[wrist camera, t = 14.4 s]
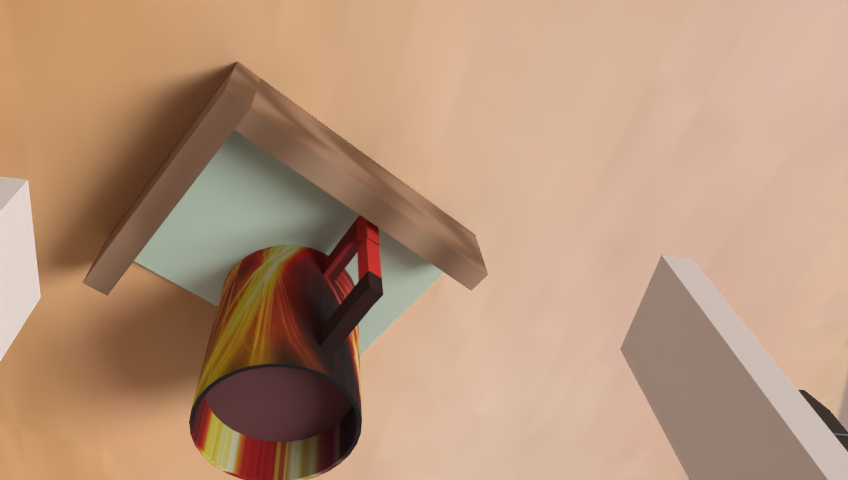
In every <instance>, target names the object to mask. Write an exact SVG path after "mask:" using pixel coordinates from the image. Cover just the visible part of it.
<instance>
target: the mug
mask: <svg viewBox="0 0 848 480" xmlns="http://www.w3.org/2000/svg"><path fill="white" fill-rule="evenodd" d="M379 246H380V239H379V228H378V227H377V226H375V225H374V224H373V223H371V222H370V221H368V220H367V219H365V218H364V217H362V216H361V215H359V216H358V217H357V219H356V220H355V221H354V223H353V224H352V225H351V227H350V228H349V229H348V231H347V232H346V233H345V235H344V236H343V237H342V239H341V240H340V241H339V243H338V244H337V245H336V247H335V248H334V249H333V251H332V252H331V253H330V255H329V256H328V255H326V254H325V253H323V252H320V251H317V250H315V249H312V248H308V247H303V246H298V245H280V246H272V247H268V248H264V249H261V250H258V251H256V252H254V253H252V254H250V255H248V256H246V257H245V258H243V259H242V260H241V261H240V262H239V263H237V264H236V265H235V266H234V268H233V269H232V270H231V271H230V273H229V274H228V276H227V278H226V280H225V282H224V285H223V289H222V292H221V296H220V300H219V304H218V308H217V312H216V316H215V320H214V324H213V328H212V332H211V335H210V339H209V343H208V347H207V351H206V355H205V359H204V363H203V367H202V371H201V375H200V378H199V382H198V386H197V390H196V394H195V398H194V402H193V406H192V410H191V415H190V421H189V424H190V433H191V436H192V439H193V441H194V444H195V446H196V447H197V449H198V450H199V451H200V453H201V454H202V456H204V457H205V458H206V459H207V460H208V461H209V462H210V463H211V464H212V465H214V466H215V467H217V468H219V469H220V470H222V471H224V472H225V473H228V474H230V475H233V476H235V477H237V478H241V479H244V480H307V479H310V478H314V477H317V476H319V475H321V474H323V473H326V472H328V471H330V470H331V469H333V468H334V467H336V466H337V465H339V464H340V463H341V462H342V461H343V460H344V459H345V458H347V457H348V456H349V455H350V453H351V452H352V450H353V449H354V447H355V446H356V444H357V442H358V439H359V436H360V434H361V423H362V416H361V386H360V356H359V326H358V323H359V322H360V321H361V320H362V319H363V317H364V316H365V315H366V314H367V313H368V311H369V310H370V309H371V308H372V306H373V305H374V304H375V303H376V302H377V301H378V300H379V299H380V298H381V297H382V296H383V286H382V275H381V263H380V252H379ZM357 252H358V279H359V282H358V283H357V284H356V285H354V282H353V280H352V278H351V276H350V275H349V274H348V272H347V271H346V270H345V268H346V266H347V265H348V264H349V263H350V261H351V260H352V259H353V257H354V256H355V255H356V253H357Z"/></svg>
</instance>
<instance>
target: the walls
mask: <svg viewBox="0 0 848 480" xmlns="http://www.w3.org/2000/svg"><path fill="white" fill-rule="evenodd" d="M234 130H236V131H237V132H239V133H240V134H242V135H243V136H245V137H246V138H248V139H249V140H251V141H252V142H253V143H255V144H256V145H258V146H259V147H261V148H262V149H264V150H265V151H267V152H268V153H270V154H271V155H273V156H274V157H276V158H277V159H278V160H280V161H281V162H283V163H284V164H286V165H287V166H289V167H290V168H292V169H293V170H295V171H296V172H298V173H299V174H301V175H302V176H303V177H305V178H306V179H308V180H309V181H311V182H312V183H314V184H315V185H317V186H318V187H320V188H321V189H323V190H324V191H325V192H327V193H328V194H330V195H331V196H333V197H334V198H336V199H337V200H339V201H340V202H342V203H343V204H345V205H346V206H348V207H349V208H350V209H352V210H353V211H355V212H356V213H358V214H359V215H361V216H362V217H364V218H365V219H367V220H368V221H370V222H371V223H373V224H374V225H375V226H377V227H378V228H380V229H381V230H383V231H384V232H386V233H387V234H389V235H390V236H392V237H393V238H395V239H396V240H398V241H399V242H400V243H402V244H403V245H405V246H406V247H408V248H409V249H411V250H412V251H414V252H415V253H417V254H418V255H420V256H421V257H423V258H424V259H425V260H427V261H428V262H430V263H431V264H433V265H434V266H436V267H437V268H439V269H440V270H442V271H443V272H445V273H446V274H448V275H449V276H450V277H452V278H453V279H455V280H456V281H458V282H459V283H461V284H462V285H464V286H465V287H467V288H468V289H470V290H472V289H473V288H474V287H475V286H477V285H478V284H479V283H480V282H481V281H482V280H483V279H484V278H485V277H486V276H487V275H488V273H487V270H486V267H485V264H484V261H483V258H482V255H481V252H480V248H479V245H478V242H477V239H476V236H475V234H473V233H472V232H470V231H469V230H468V229H466V228H465V227H464V226H462V225H461V224H460V223H458V222H457V221H455V220H454V219H453V218H451V217H450V216H449V215H447V214H446V213H444V212H443V211H442V210H440V209H439V208H438V207H436V206H435V205H433V204H432V203H431V202H429V201H428V200H427V199H425V198H424V197H423V196H421V195H420V194H418V193H417V192H416V191H414V190H413V189H412V188H410V187H409V186H407V185H406V184H405V183H403V182H402V181H401V180H399V179H398V178H396V177H395V176H394V175H392V174H391V173H390V172H388V171H387V170H385V169H384V168H383V167H381V166H380V165H379V164H377V163H376V162H375V161H373V160H372V159H370V158H369V157H368V156H366V155H365V154H364V153H362V152H361V151H359V150H358V149H357V148H355V147H354V146H353V145H351V144H350V143H348V142H347V141H346V140H344V139H343V138H342V137H340V136H339V135H337V134H336V133H335V132H333V131H332V130H331V129H329V128H328V127H327V126H325V125H324V124H322V123H321V122H320V121H318V120H317V119H316V118H314V117H313V116H311V115H310V114H309V113H307V112H306V111H305V110H303V109H302V108H300V107H299V106H298V105H296V104H295V103H294V102H292V101H291V100H290V99H288V98H287V97H285V96H284V95H283V94H281V93H280V92H279V91H277V90H276V89H274V88H273V87H272V86H270V85H269V84H268V83H266V82H265V81H263V80H262V79H261V78H259V77H258V76H257V75H255V74H254V73H252V72H251V71H250V70H248V69H247V68H246V67H244V66H243V65H242V64H240V63H239V62H237V63H236V64H235V66H234V67H233V69H232V70H231V71H230V73H229V74H228V75H227V77H226V78H225V79H224V81H223V82H222V83H221V85H220V86H219V88H218V89H217V90H216V92H215V93H214V94H213V96H212V97H211V98H210V100H209V101H208V103H207V104H206V105H205V107H204V108H203V109H202V111H201V112H200V113H199V115H198V116H197V117H196V119H195V120H194V122H193V123H192V124H191V126H190V127H189V128H188V130H187V131H186V132H185V134H184V135H183V137H182V138H181V139H180V141H179V142H178V143H177V145H176V146H175V147H174V149H173V150H172V152H171V153H170V154H169V156H168V157H167V158H166V160H165V161H164V162H163V164H162V165H161V166H160V168H159V169H158V171H157V172H156V173H155V175H154V176H153V177H152V179H151V180H150V181H149V183H148V184H147V186H146V187H145V188H144V190H143V191H142V192H141V194H140V195H139V196H138V198H137V199H136V200H135V202H134V203H133V205H132V206H131V207H130V209H129V210H128V211H127V213H126V214H125V215H124V217H123V218H122V220H121V221H120V222H119V224H118V225H117V226H116V228H115V229H114V230H113V232H112V233H111V234H110V236H109V237H108V239H107V240H106V242H105V244H104V245H103V247H102V249H101V251H100V252H99V254H98V256H97V258H96V259H95V261H94V263H93V265H92V267H91V268H90V270H89V272H88V274H87V275H86V277H85V279H84V281H83V282H82V283H84V284H86V285H88V286H90V287H92V288H94V289H95V290H97V291H99V292H101V293H103V294H105V295H108V294H109V292H110V291H111V290H112V289H113V287H114V286H115V285H116V283H117V282H118V281H119V279H120V278H121V277H122V276H123V274H124V273H125V272H126V270H127V269H128V268H129V266H130V265H131V264H132V262H133V261H134V260H135V259H136V257H137V256H138V255H139V253H140V252H141V251H142V249H143V248H144V247H145V246H146V244H147V243H148V242H149V240H150V239H151V238H152V236H153V235H154V234H155V232H156V231H157V230H158V229H159V227H160V226H161V225H162V223H163V222H164V221H165V219H166V218H167V217H168V216H169V214H170V213H171V212H172V210H173V209H174V208H175V206H176V205H177V204H178V202H179V201H180V200H181V199H182V197H183V196H184V195H185V193H186V192H187V191H188V189H189V188H190V187H191V186H192V184H193V183H194V182H195V180H196V179H197V178H198V176H199V175H200V174H201V172H202V171H203V170H204V169H205V167H206V166H207V165H208V163H209V162H210V161H211V159H212V158H213V157H214V156H215V154H216V153H217V152H218V150H219V149H220V148H221V146H222V145H223V144H224V142H225V141H226V140H227V139H228V137H229V136H230V135H231V133H232V132H233V131H234Z"/></svg>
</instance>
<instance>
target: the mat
mask: <svg viewBox="0 0 848 480" xmlns="http://www.w3.org/2000/svg"><path fill="white" fill-rule="evenodd" d="M358 216H359V214H358V213H356V212H355V211H353V210H352V209H350V208H349V207H348V206H346V205H345V204H343V203H342V202H340V201H339V200H337V199H336V198H334V197H333V196H331V195H330V194H328V193H327V192H325V191H324V190H323V189H321V188H320V187H318V186H317V185H315V184H314V183H312V182H311V181H309V180H308V179H306V178H305V177H303V176H302V175H301V174H299V173H298V172H296V171H295V170H293V169H292V168H290V167H289V166H287V165H286V164H284V163H283V162H281V161H280V160H278V159H277V158H276V157H274V156H273V155H271V154H270V153H268V152H267V151H265V150H264V149H262V148H261V147H259V146H258V145H256V144H255V143H253V142H252V141H251V140H249V139H248V138H246V137H245V136H243V135H242V134H240V133H239V132H237V131H236V130H234V131H233V132H232V133H231V135H230V136H229V137H228V139H227V140H226V141H225V142H224V144H223V145H222V146H221V148H220V149H219V150H218V152H217V153H216V154H215V156H214V157H213V158H212V159H211V161H210V162H209V163H208V165H207V166H206V167H205V169H204V170H203V171H202V172H201V174H200V175H199V176H198V178H197V179H196V180H195V182H194V183H193V184H192V186H191V187H190V188H189V189H188V191H187V192H186V193H185V195H184V196H183V197H182V199H181V200H180V201H179V202H178V204H177V205H176V206H175V208H174V209H173V210H172V212H171V213H170V214H169V216H168V217H167V218H166V219H165V221H164V222H163V223H162V225H161V226H160V227H159V229H158V230H157V231H156V232H155V234H154V235H153V236H152V238H151V239H150V240H149V242H148V243H147V244H146V246H145V247H144V248H143V249H142V251H141V252H140V253H139V255H138V256H137V257H136V259H135V260H134V261H135V262H137V263H138V264H140V265H142V266H144V267H146V268H147V269H149V270H151V271H153V272H155V273H157V274H158V275H160V276H162V277H164V278H166V279H167V280H169V281H171V282H173V283H175V284H177V285H178V286H180V287H182V288H184V289H186V290H188V291H189V292H191V293H193V294H195V295H197V296H198V297H200V298H202V299H204V300H206V301H208V302H209V303H211V304H213V305H215V306H217V307H218V304H219V300H220V296H221V292H222V289H223V285H224V282H225V280H226V278H227V276H228V274H229V273H230V271H231V270H232V269H233V268H234V266H235V265H236V264H237V263H239V262H240V261H241V260H242V259H243V258H245V257H246V256H248V255H250V254H252V253H254V252H256V251H258V250H261V249H264V248H268V247H272V246H280V245H298V246H303V247H308V248H312V249H315V250H317V251H320V252H323V253H325V254H326V255H328V256H329V255H330V253H331V252H332V251H333V249H334V248H335V247H336V245H337V244H338V243H339V241H340V240H341V239H342V237H343V236H344V235H345V233H346V232H347V231H348V229H349V228H350V227H351V225H352V224H353V223H354V221H355V220H356V219H357V217H358ZM379 239H380V246H379V252H380V263H381V275H382V286H383V296H382V297H381V298H380V299H379V300H378V301H377V302H376V303H375V304H374V305H373V306H372V308H371V309H370V310H369V311H368V313H367V314H366V315H365V316H364V317H363V319H362V320H361V321H360V322H359V323H358V326H359V356H360V355H361V354H362V353H363V352H364V351H365V350H366V349H367V348H368V347H369V346H370V345H371V344H372V343H373V342H374V341H375V340H376V339H377V338H378V337H379V336H380V335H381V334H382V333H383V332H384V331H385V330H386V329H387V328H388V327H389V326H390V325H391V324H392V323H393V322H394V321H395V320H396V319H397V318H398V317H399V316H400V315H401V314H402V313H403V312H404V311H405V310H406V309H407V308H408V307H409V306H410V305H411V304H412V303H413V302H414V301H415V300H416V299H417V298H418V297H419V296H420V295H421V294H422V293H423V292H424V291H425V290H426V289H427V288H428V287H429V286H430V285H431V284H432V283H433V282H434V281H435V280H436V279H437V278H438V277H439V276H440V275H441V274H442V273H443V271H442V270H440V269H439V268H437V267H436V266H434V265H433V264H431V263H430V262H428V261H427V260H425V259H424V258H423V257H421V256H420V255H418V254H417V253H415V252H414V251H412V250H411V249H409V248H408V247H406V246H405V245H403V244H402V243H400V242H399V241H398V240H396V239H395V238H393V237H392V236H390V235H389V234H387V233H386V232H384V231H383V230H381V229H380V228H379ZM345 270H346V271H347V272H348V274H349V275H350V276H351V278H352V280H353V282H354V285H356V284H357V283H358V282H359V279H358V252H357V253H356V255H355V256H354V257H353V259H352V260H351V261H350V263H349V264H348V265H347V266H346V268H345Z"/></svg>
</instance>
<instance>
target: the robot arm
mask: <svg viewBox="0 0 848 480" xmlns="http://www.w3.org/2000/svg"><path fill="white" fill-rule="evenodd" d="M40 298H41V295H40V286H39V277H38V268H37V259H36V249H35V240H34V231H33V222H32V213H31V204H30V194H29V185H28V180H26V179H17V178H9V177H0V361H1V359H2V358H3V356H4V354H5V353H6V351H7V350H8V348H9V347H10V345H11V343H12V342H13V340H14V339H15V337H16V336H17V334H18V332H19V331H20V329H21V328H22V326H23V325H24V323H25V321H26V320H27V318H28V317H29V315H30V314H31V312H32V310H33V309H34V307H35V306H36V304H37V302H38V301H39V299H40ZM621 351H622V353H623V355H624V357H625V359H626V361H627V363H628V364H629V366H630V368H631V370H632V372H633V374H634V376H635V378H636V380H637V381H638V383H639V385H640V387H641V389H642V391H643V393H644V395H645V397H646V398H647V400H648V402H649V404H650V406H651V408H652V410H653V412H654V414H655V415H656V417H657V419H658V421H659V423H660V425H661V427H662V429H663V431H664V432H665V434H666V436H667V438H668V440H669V442H670V444H671V446H672V448H673V449H674V451H675V453H676V455H677V457H678V459H679V461H680V463H681V465H682V466H683V468H684V470H685V472H686V474H687V476H688V478H689V480H848V432H847V431H846V430H845V428H844V427H843V426H842V425H841V424H840V422H839V421H838V420H837V419H836V417H835V416H834V415H833V414H832V413H831V411H830V410H828V409H827V408H826V407H825V406H823V405H822V404H821V403H820V402H818V401H817V400H816V399H815V398H813V397H812V396H811V395H810V394H808V393H807V392H806V391H805V390H798V389H797V388H796V387H795V386H794V384H793V383H792V382H791V381H790V379H789V378H788V377H787V376H786V374H785V373H784V372H783V371H782V370H781V368H780V367H779V366H778V365H777V363H776V362H775V361H774V360H773V358H772V357H771V356H770V355H769V353H768V352H767V351H766V350H765V348H764V347H763V346H762V345H761V343H760V342H759V341H758V340H757V338H756V337H755V336H754V335H753V333H752V332H751V331H750V330H749V329H748V327H747V326H746V325H745V324H744V322H743V321H742V320H741V319H740V317H739V316H738V315H737V314H736V312H735V311H734V310H733V309H732V307H731V306H730V305H729V304H728V302H727V301H726V300H725V299H724V297H723V296H722V295H721V294H720V292H719V291H718V290H717V289H716V287H715V286H714V285H713V284H712V283H711V281H710V280H709V279H708V278H707V276H706V275H705V274H704V273H703V271H702V270H701V269H700V268H699V266H698V265H697V264H696V263H695V261H694V260H693V259H690V258H682V257H673V256H665V255H662V256H661V258H660V260H659V262H658V265H657V267H656V269H655V271H654V274H653V276H652V278H651V281H650V283H649V285H648V287H647V290H646V292H645V294H644V296H643V299H642V301H641V303H640V306H639V308H638V310H637V312H636V315H635V317H634V319H633V322H632V324H631V326H630V328H629V331H628V333H627V335H626V337H625V340H624V342H623V344H622V347H621Z"/></svg>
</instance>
